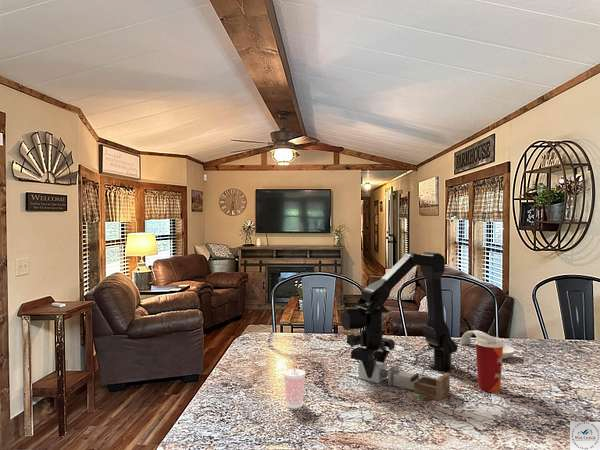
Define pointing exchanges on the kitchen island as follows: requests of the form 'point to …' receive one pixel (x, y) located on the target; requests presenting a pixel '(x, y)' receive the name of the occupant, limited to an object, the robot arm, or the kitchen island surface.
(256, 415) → the kitchen island surface
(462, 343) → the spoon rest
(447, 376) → the housing
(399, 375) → the metal-capped square post
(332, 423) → the kitchen island surface
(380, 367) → the block with dome knob
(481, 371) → the coffee cup
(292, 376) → the beverage cup
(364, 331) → the robot arm
